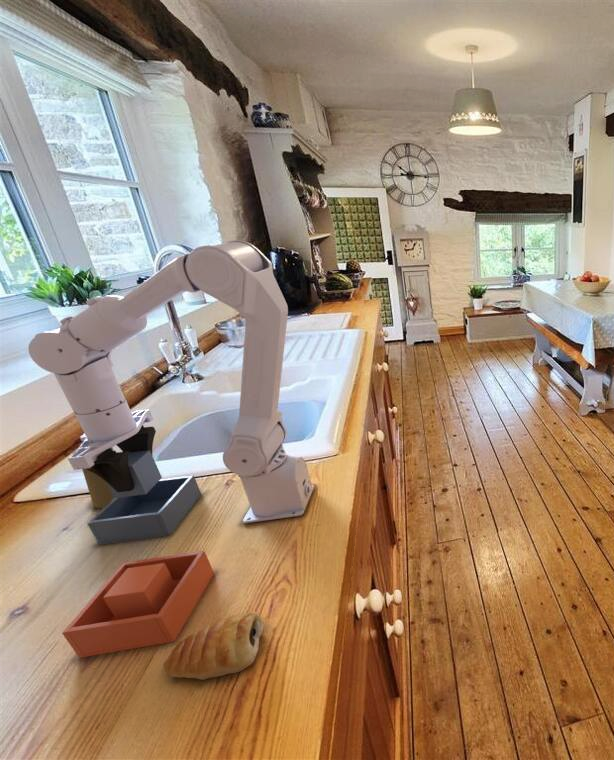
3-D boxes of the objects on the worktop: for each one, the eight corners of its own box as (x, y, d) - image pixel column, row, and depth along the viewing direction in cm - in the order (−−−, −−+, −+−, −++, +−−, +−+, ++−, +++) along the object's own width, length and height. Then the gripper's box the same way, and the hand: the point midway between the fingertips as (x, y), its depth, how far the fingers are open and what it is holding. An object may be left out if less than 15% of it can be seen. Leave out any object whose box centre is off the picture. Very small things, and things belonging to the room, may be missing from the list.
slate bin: (201, 494, 75) (193, 475, 74) (169, 535, 66) (159, 513, 64) (140, 502, 74) (130, 482, 72) (99, 544, 65) (86, 523, 63)
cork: (144, 486, 78) (121, 437, 74) (113, 508, 73) (86, 456, 68) (116, 485, 79) (91, 436, 74) (83, 507, 73) (54, 455, 69)
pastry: (158, 700, 44) (144, 677, 42) (182, 641, 50) (171, 620, 48) (256, 669, 46) (247, 646, 45) (268, 617, 52) (260, 595, 51)
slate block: (162, 477, 69) (149, 450, 67) (145, 494, 65) (132, 465, 63) (133, 481, 68) (119, 453, 66) (114, 498, 64) (99, 469, 62)
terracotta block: (179, 592, 56) (164, 562, 53) (160, 622, 52) (143, 591, 49) (143, 598, 55) (127, 568, 53) (121, 628, 51) (102, 597, 49)
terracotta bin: (214, 573, 59) (204, 550, 57) (174, 641, 50) (160, 616, 48) (135, 585, 57) (122, 562, 56) (78, 658, 48) (61, 633, 46)
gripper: (105, 388, 67) (137, 458, 72) (25, 433, 54) (72, 514, 59) (153, 384, 68) (181, 453, 73) (86, 427, 55) (127, 507, 60)
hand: (136, 480), depth 66 cm, fingers closed on slate block, 4 cm apart
